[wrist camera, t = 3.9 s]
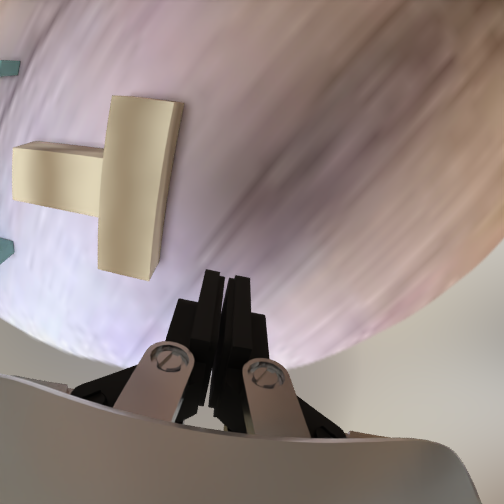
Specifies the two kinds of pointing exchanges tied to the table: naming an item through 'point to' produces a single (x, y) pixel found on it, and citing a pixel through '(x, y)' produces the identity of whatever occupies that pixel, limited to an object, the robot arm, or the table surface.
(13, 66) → the dock
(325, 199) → the table surface
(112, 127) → the tee block
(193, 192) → the table surface
